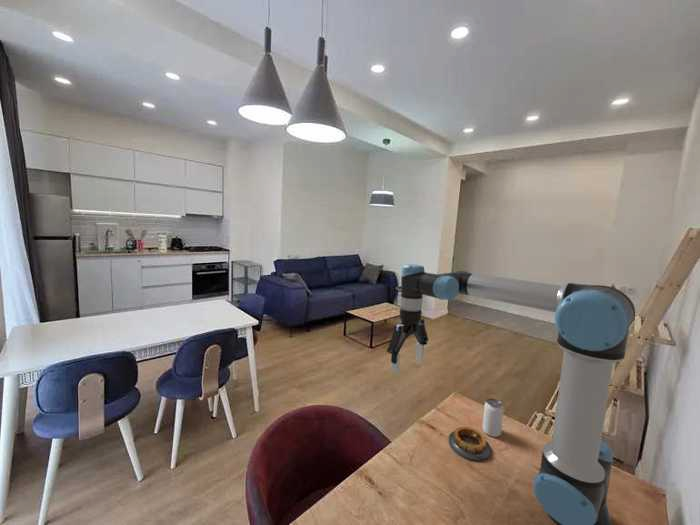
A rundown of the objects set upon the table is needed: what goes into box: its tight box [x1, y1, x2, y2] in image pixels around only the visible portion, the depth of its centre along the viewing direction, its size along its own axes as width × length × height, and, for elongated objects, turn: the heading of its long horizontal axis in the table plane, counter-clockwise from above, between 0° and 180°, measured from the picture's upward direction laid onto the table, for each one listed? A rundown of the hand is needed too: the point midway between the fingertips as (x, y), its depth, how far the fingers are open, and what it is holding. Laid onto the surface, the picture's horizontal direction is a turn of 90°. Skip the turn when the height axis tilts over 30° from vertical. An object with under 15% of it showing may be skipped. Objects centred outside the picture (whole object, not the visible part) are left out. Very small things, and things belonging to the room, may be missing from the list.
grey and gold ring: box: [448, 426, 492, 462], centre depth 104 cm, size 14×14×4 cm
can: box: [482, 397, 504, 438], centre depth 111 cm, size 6×6×12 cm
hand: (407, 365), depth 104 cm, fingers open, 13 cm apart
